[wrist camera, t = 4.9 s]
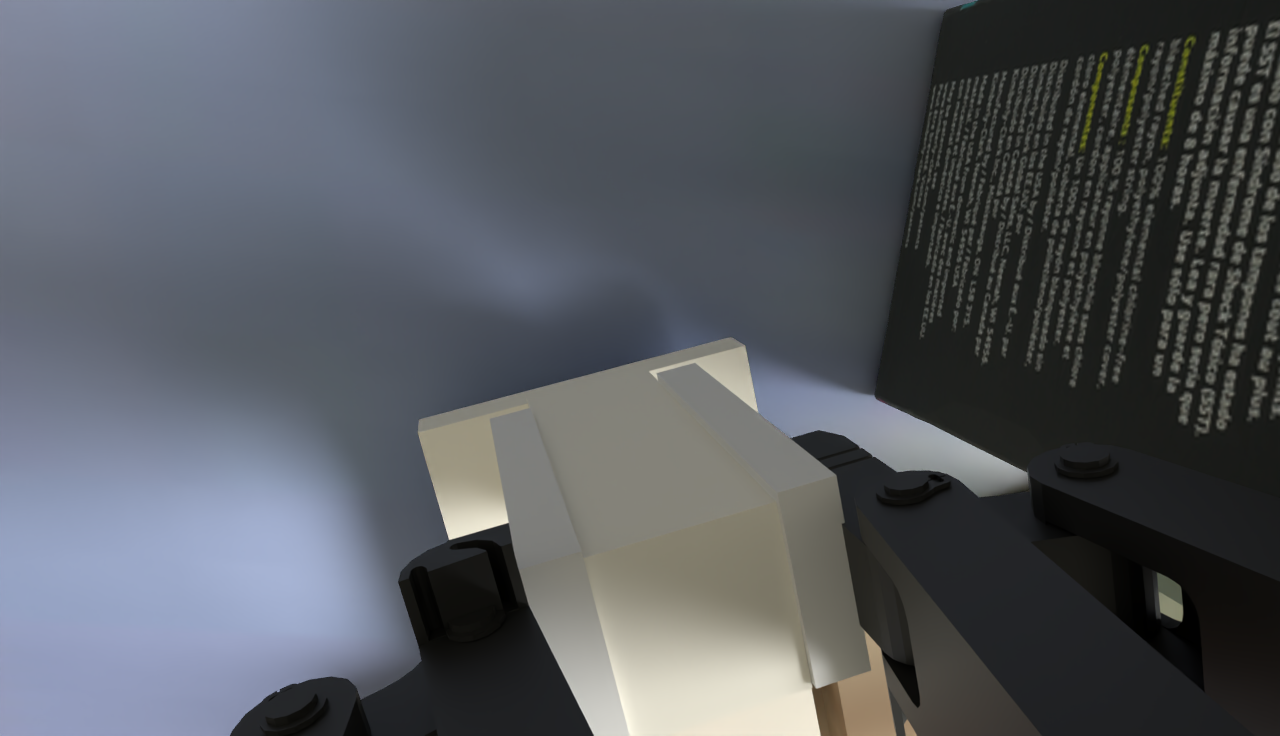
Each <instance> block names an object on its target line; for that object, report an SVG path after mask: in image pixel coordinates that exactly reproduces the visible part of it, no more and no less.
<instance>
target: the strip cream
mask: <svg viewBox="0 0 1280 736" xmlns="http://www.w3.org/2000/svg"><path fill="white" fill-rule="evenodd" d="M692 363H696V364H697V365H698V366H700V367H701V368H702V369H703V370H705V371H706V372H707V373H708V374H710V375H711V376H712V377H714V378H715V379H716V380H717V381H719V382H720V383H721V384H722V385H724V386H725V387H726V388H727V389H729V390H730V391H731V392H732V393H734V394H735V395H736V396H737V397H739V398H740V399H741V400H742V401H744V402H745V403H746V404H747V405H749V406H750V407H751V408H753V409H754V410H755V411H756V412H758V409H757V404H756V399H755V393H754V388H753V383H752V378H751V373H750V368H749V362H748V357H747V352H746V347H745V345H743V344H742V343H740V342H739V341H737V340H735V339H734V338H732V337H729V338H725V339H721V340H717V341H713V342H710V343H706V344H702V345H698V346H694V347H691V348H687V349H683V350H679V351H676V352H672V353H668V354H664V355H660V356H657V357H653V358H649V359H645V360H642V361H638V362H634V363H630V364H626V365H623V366H619V367H615V368H611V369H608V370H604V371H600V372H596V373H592V374H589V375H585V376H581V377H577V378H574V379H570V380H566V381H562V382H558V383H555V384H551V385H547V386H543V387H539V388H536V389H532V390H528V391H524V392H521V393H517V394H513V395H509V396H505V397H502V398H498V399H494V400H490V401H487V402H483V403H479V404H475V405H471V406H468V407H464V408H460V409H456V410H453V411H449V412H445V413H441V414H437V415H434V416H430V417H426V418H422V419H419V424H418V436H419V439H420V443H421V446H422V449H423V453H424V456H425V459H426V463H427V466H428V470H429V473H430V476H431V480H432V483H433V487H434V490H435V493H436V497H437V500H438V504H439V507H440V510H441V514H442V517H443V521H444V524H445V527H446V531H447V534H448V538H449V540H451V539H455V538H458V537H461V536H465V535H468V534H472V533H475V532H479V531H482V530H486V529H489V528H492V527H496V526H499V525H503V524H506V523H509V521H508V516H507V511H506V505H505V500H504V494H503V489H502V483H501V478H500V472H499V467H498V462H497V456H496V451H495V445H494V440H493V434H492V429H491V424H490V419H491V418H494V417H498V416H502V415H505V414H509V413H513V412H516V411H520V410H524V409H527V408H530V409H531V411H532V414H533V417H534V420H535V422H536V425H537V428H538V431H539V434H540V436H541V439H542V442H543V445H544V448H545V450H546V453H547V456H548V459H549V462H550V464H551V467H552V470H553V473H554V476H555V478H556V481H557V484H558V487H559V490H560V492H561V495H562V498H563V501H564V503H565V506H566V509H567V512H568V515H569V517H570V520H571V523H572V526H573V529H574V531H575V534H576V537H577V540H578V543H579V545H580V548H581V551H582V555H583V559H584V562H585V566H586V570H587V574H588V578H589V582H590V585H591V589H592V593H593V597H594V601H595V605H596V608H597V612H598V616H599V620H600V624H601V627H602V631H603V635H604V639H605V643H606V647H607V650H608V654H609V658H610V662H611V666H612V670H613V673H614V677H615V681H616V685H617V689H618V693H619V696H620V700H621V704H622V708H623V712H624V716H625V719H626V723H627V727H628V731H629V735H630V736H821V735H820V730H819V724H818V719H817V714H816V709H815V704H814V699H813V693H812V688H813V687H812V682H811V677H810V672H809V667H808V661H807V656H806V651H805V646H804V641H803V635H802V630H801V625H800V620H799V615H798V610H797V604H796V599H795V594H794V589H793V584H792V579H791V574H790V569H789V564H788V559H787V554H786V549H785V544H784V539H783V534H782V529H781V524H780V519H779V514H778V509H777V504H776V501H775V500H774V499H773V498H772V497H771V496H770V495H769V494H768V493H767V492H766V491H765V490H764V489H763V488H762V487H761V486H760V485H759V484H758V483H757V482H756V481H755V480H754V479H753V478H752V477H751V475H750V474H749V473H748V472H747V471H746V470H745V469H744V468H743V467H742V466H741V465H740V464H739V463H738V462H737V461H736V460H735V459H734V458H733V457H732V456H731V455H730V454H729V453H728V452H727V451H726V450H725V449H724V448H723V447H722V446H721V445H720V444H719V443H718V442H717V441H716V440H715V439H714V438H713V437H712V436H711V435H710V434H709V433H708V432H707V431H706V430H705V429H704V428H703V427H702V426H701V425H700V424H699V423H698V422H697V421H696V420H695V419H694V417H693V416H692V415H691V414H690V413H689V412H688V411H687V410H686V409H685V408H684V407H683V406H682V405H681V404H680V403H679V402H678V401H677V400H676V399H675V398H674V397H673V396H672V395H671V394H670V393H669V392H668V391H667V390H666V389H665V388H664V387H663V386H662V385H661V384H660V383H659V382H658V378H657V373H659V372H663V371H667V370H670V369H674V368H678V367H681V366H685V365H689V364H692Z"/></svg>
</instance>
